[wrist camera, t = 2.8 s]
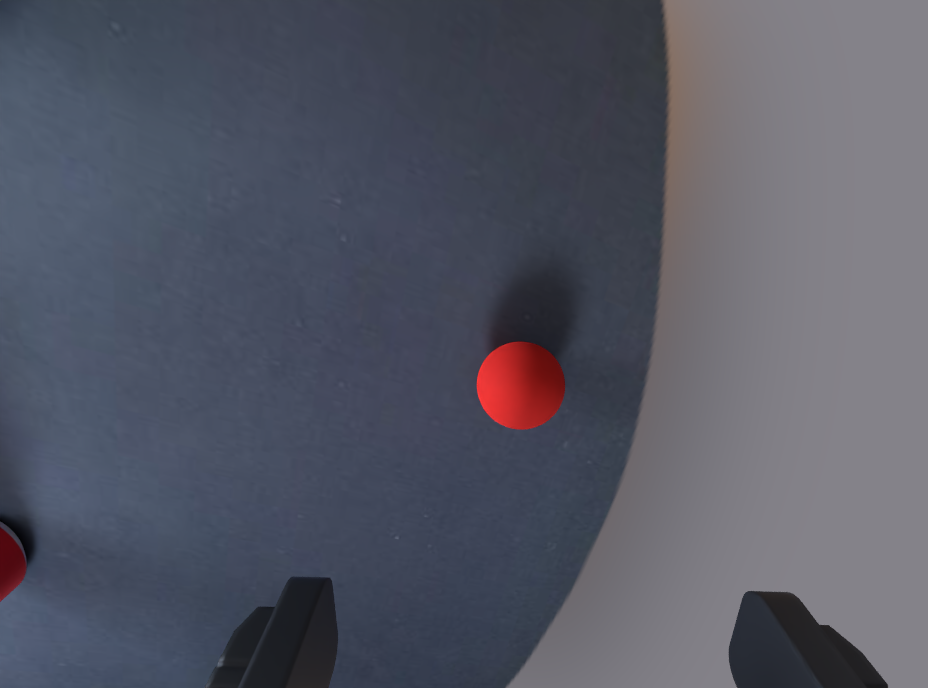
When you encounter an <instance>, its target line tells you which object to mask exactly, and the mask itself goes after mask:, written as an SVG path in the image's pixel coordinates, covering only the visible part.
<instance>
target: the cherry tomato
mask: <svg viewBox="0 0 928 688" xmlns="http://www.w3.org/2000/svg"><path fill="white" fill-rule="evenodd" d="M477 392H478V397H479V400H480V402H481V404H482V406H483V408H484V410H485V411H486V412H487V414H488V415H489V416H490V417H491V418H492V419H494V420H495V421H496V422H498V423H499V424H501V425H504V426H506V427H509V428H513V429H530V428H534V427H537V426H539V425H542V424H543V423H545V422H546V421H548V420H549V419H550V418H551V417H552V416H553V415H554V414H555V413H556V412H557V410H558V409H559V407H560V405H561V403H562V401H563V397H564V393H565V379H564V374H563V371H562V369H561V366H560V364H559V363H558V361H557V360H556V358H555V357H554V356H553V355H552V354H551V353H550V352H549V351H547V350H546V349H544V348H543V347H541V346H539V345H537V344H534V343H530V342H511V343H508V344H504V345H502V346H500V347H498V348H497V349H495V350H494V351H493V352H491V353H490V354H489V355H488V356H487V358H486V359H485V360H484V362H483V364H482V366H481V368H480V370H479V373H478V378H477Z"/></svg>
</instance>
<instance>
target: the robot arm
mask: <svg viewBox="0 0 928 688" xmlns="http://www.w3.org/2000/svg"><path fill="white" fill-rule="evenodd" d="M337 645H338V631H337V621H336V612H335V603H334V594H333V585H332V581H331V579H330V578H320V577H291V578H290V579H289V580H288V582H287V583H286V585H285V587H284V589H283V591H282V594H281V596H280V598H279V600H278V602H277V604H276V607H257V608H256V609H255V611H254V612H253V613H252V614H251V615H250V616H249V617H248V618H247V619H246V620H245V621H244V622H243V623H242V624H241V625H240V626H239V627H238V628H237V629H236V630H235V631H234V633H233V635H232V636H231V638H230V640H229V642H228V644H227V646H226V648H225V650H224V652H223V653H222V655H221V657H220V659H219V661H218V666H217V667H215V669H214V670H213V672H212V674H211V676H210V678H209V680H208V682H207V684H206V686H205V688H328V687H329V684H330V680H331V677H332V673H333V669H334V665H335V660H336V654H337ZM729 663H730V668H731V672H732V675H733V678H734V681H735V684H736V685H737V688H888V685H887V683H886V682H885V681H884V680H883V678H882V677H881V676H880V675H879V673H878V672H877V671H876V670H875V668H874V667H873V666H872V665H871V663H870V662H869V661H868V660H867V658H866V657H865V656H864V655H863V653H862V652H860V651H859V650H858V649H857V648H856V647H855V646H853V645H852V644H851V643H850V642H848V641H847V640H846V639H845V638H844V637H842V636H841V635H840V634H839V633H838V632H836V631H835V630H834V629H833V628H831V627H830V626H829V625H819V624H818V623H817V622H816V620H815V619H814V618H813V616H812V615H811V614H810V612H809V611H808V610H807V608H806V607H805V606H804V604H803V603H802V602H801V601H800V599H799V598H797V597H796V596H795V595H794V594H792V593H788V592H760V591H748V592H746V593H745V594H744V596H743V598H742V602H741V605H740V609H739V613H738V617H737V620H736V624H735V627H734V631H733V635H732V638H731V642H730V646H729Z"/></svg>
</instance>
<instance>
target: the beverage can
mask: <svg viewBox="0 0 928 688" xmlns="http://www.w3.org/2000/svg"><path fill="white" fill-rule="evenodd" d="M26 570H27V561H26V555H25V551H24V549H23V546H22V543H21V541H20V540H19V538H18V537H17V535H16V534H15V533H14V532H13V531H12V530H11V529H10V528H9V527H7V526H6V525H5V524H3V523H2V522H0V601H2V600H3V599H4V598H5V597H6V596H7V595H8V594H9V593H10V592H11V591H13V590H14V589H15V588H16V587H17V586H18V585H19V584H20V583H21V582H22V580H23V579H24V577H25V574H26Z"/></svg>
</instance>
